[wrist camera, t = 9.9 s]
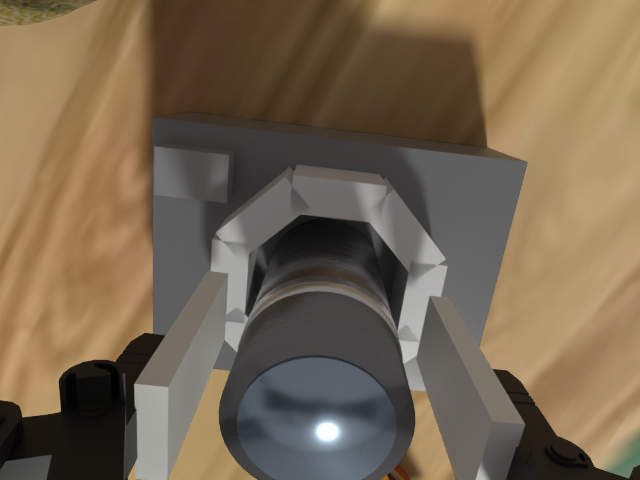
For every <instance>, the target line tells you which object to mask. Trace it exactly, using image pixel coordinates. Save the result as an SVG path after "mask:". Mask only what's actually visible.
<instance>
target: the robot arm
mask: <svg viewBox="0 0 640 480" xmlns="http://www.w3.org/2000/svg"><path fill="white" fill-rule="evenodd" d="M227 291H228V273H221V272H212V271H207V273H206V274H205V276H204V277H203V279H202V280H201V282H200V283H199V285H198V286H197V288H196V289H195V291H194V293H193V294H192V296H191V297H190V299H189V300H188V302H187V303H186V305H185V306H184V308H183V309H182V311H181V313H180V314H179V316H178V317H177V319H176V320H175V322H174V323H173V325H172V326H171V328H170V329H169V331H168V333H167V334H166V335H159V334H150V333H144V334H142V335H141V336H139V337H137V338H136V339H134V340H132V341H131V342H130V343H129V345H128V346H127V347H126V348H125V350H124V351H123V354H121V355H120V356H119V357H118V359H117V360H116V362H113V361H109V360H92V361H87V362H82V363H80V364H78V365H75V366H73V367H71V368H70V369H68V370H67V371H66V372H64V373H63V374H62V376H61V378H60V379H59V390H60V403H61V412H59V413H54V414H48V415H40V416H32V417H24V418H22V413H21V410H20V407H19V406H18V405H16V404H15V403H13V402H8V401H2V400H1V401H0V480H128V475H129V474H130V472H131V470H132V468H133V466H134V464H135V462H136V478H137V479H147V480H168V479H169V476H170V474H171V471H172V469H173V466H174V464H175V461H176V459H177V456H178V454H179V451H180V449H181V447H182V444H183V442H184V439H185V437H186V434H187V432H188V429H189V427H190V424H191V422H192V419H193V417H194V414H195V412H196V409H197V407H198V404H199V402H200V399H201V397H202V394H203V392H204V390H205V387H206V385H207V382H208V380H209V377H210V375H211V372H212V370H213V367H214V365H215V362H216V360H217V357H218V355H219V352H220V350H221V347H222V345H223V342H224V340H225V327H226V309H227ZM416 361H417V364H418V367H419V370H420V373H421V376H422V379H423V382H424V385H425V388H426V391H427V394H428V397H429V400H430V403H431V406H432V409H433V412H434V415H435V418H436V421H437V424H438V427H439V430H440V433H441V436H442V439H443V442H444V445H445V448H446V451H447V454H448V457H449V460H450V463H451V466H452V469H453V472H454V475H455V478H456V480H640V465H639V466H637V467H634V468H633V471H632V473H631V475H630V477H629V479H628V478H625V477H622V476H619V475H616V474H613V473H610V472H607V471H604V470H601V469H598V468H596V467H594V465H593V463H592V461H591V459H590V457H589V456H588V455H587V454H586V453H585V452H584V451H583V450H582V449H581V448H579V447H578V446H576V445H575V444H573V443H572V442H570V441H568V440H566V439H563V438H561V437H558V436H557V435H556V434H555V432H554V431H553V429H552V428H551V426H550V425H549V423H548V422H547V420H546V419H545V417H544V416H543V414H542V413H541V411H540V410H539V408H538V407H537V406H535V402H534V401H533V399H532V398H531V396H529V393H528V392H527V390H526V389H525V387H524V386H523V384H522V383H521V381H519V380H518V379H517V378H516V377H514V376H513V375H512V374H511V373H510V372H508V371H506V370H497V369H492V368H491V366H490V364H489V363H488V361H487V359H486V358H485V356H484V354H483V352H482V351H481V349H480V347H479V346H478V344H477V342H476V341H475V339H474V337H473V336H472V334H471V332H470V331H469V329H468V327H467V326H466V324H465V322H464V321H463V319H462V317H461V316H460V314H459V312H458V310H457V309H456V307H455V305H454V304H453V302H452V300H451V299H450V298H447V297H438V296H429V301H428V305H427V310H426V315H425V320H424V324H423V329H422V334H421V338H420V343H419V348H418V352H417V357H416Z"/></svg>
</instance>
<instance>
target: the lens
mask: <svg viewBox="0 0 640 480" xmlns="http://www.w3.org/2000/svg"><path fill="white" fill-rule="evenodd" d="M219 424H220V429H221V434H222V436H223V439H224V442H225V444H226V446H227V448H228V450H229V452H230V453H231V455H232V456H233V457H234V459H235V460H236V461H237V462H238V463H239V465H240V466H241V467H242V468H243V469H244V470H246V471H247V472H248V473H249V474H250V475H252V476H253V477H254V478H256V479H257V480H381V479H382V478H384V477H385V476H386V475H387V474H389V473H390V472H391V471H392V470H393V469H394V468H395V467H396V466H397V465H398V464H399V463H400V461H401V460H402V458H403V457H404V456H405V454H406V452H407V450H408V448H409V446H410V444H411V441H412V438H413V435H414V429H415V410H414V404H413V400H412V396H411V392H410V388H409V384H408V380H407V376H406V372H405V368H404V364H403V355H402V350H401V345H400V341H399V337H398V333H397V329H396V326H395V324H394V321H393V319H392V316H391V312H390V308H389V304H388V300H387V296H386V292H385V288H384V284H383V280H382V276H381V272H380V268H379V264H378V260H377V256H376V253H375V251H374V249H373V247H372V245H371V243H370V242H369V240H368V239H367V238H366V237H365V236H364V235H363V234H362V233H361V232H360V231H359V230H358V229H356V228H354V227H353V226H351V225H349V224H347V223H345V222H342V221H338V220H333V219H315V220H310V221H306V222H304V223H301V224H299V225H297V226H295V227H294V228H292V229H291V230H289V231H288V232H287V233H286V234H285V235H284V236H283V237H282V238H281V239H280V241H279V242H278V244H277V245H276V248H275V250H274V252H273V255H272V258H271V260H270V263H269V266H268V269H267V271H266V274H265V277H264V280H263V282H262V285H261V288H260V291H259V293H258V296H257V299H256V302H255V305H254V307H253V310H252V312H251V313H250V315H249V318H248V320H247V322H246V325H245V327H244V330H243V333H242V336H241V339H240V342H239V345H238V351H237V354H236V357H235V360H234V363H233V365H232V368H231V371H230V374H229V376H228V379H227V382H226V385H225V387H224V390H223V393H222V397H221V400H220V406H219Z"/></svg>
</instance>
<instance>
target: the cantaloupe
mask: <svg viewBox="0 0 640 480" xmlns="http://www.w3.org/2000/svg"><path fill="white" fill-rule="evenodd" d="M94 1H95V0H0V25H3V26H7V25H29V24H33V23H38V22H42V21H46V20H50V19H53V18H56V17H60V16H63V15H66V14H68V13H70V12H72V11H73V10H75V9H77V8H79V7H81V6H84V5H87V4H89V3H92V2H94Z"/></svg>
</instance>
